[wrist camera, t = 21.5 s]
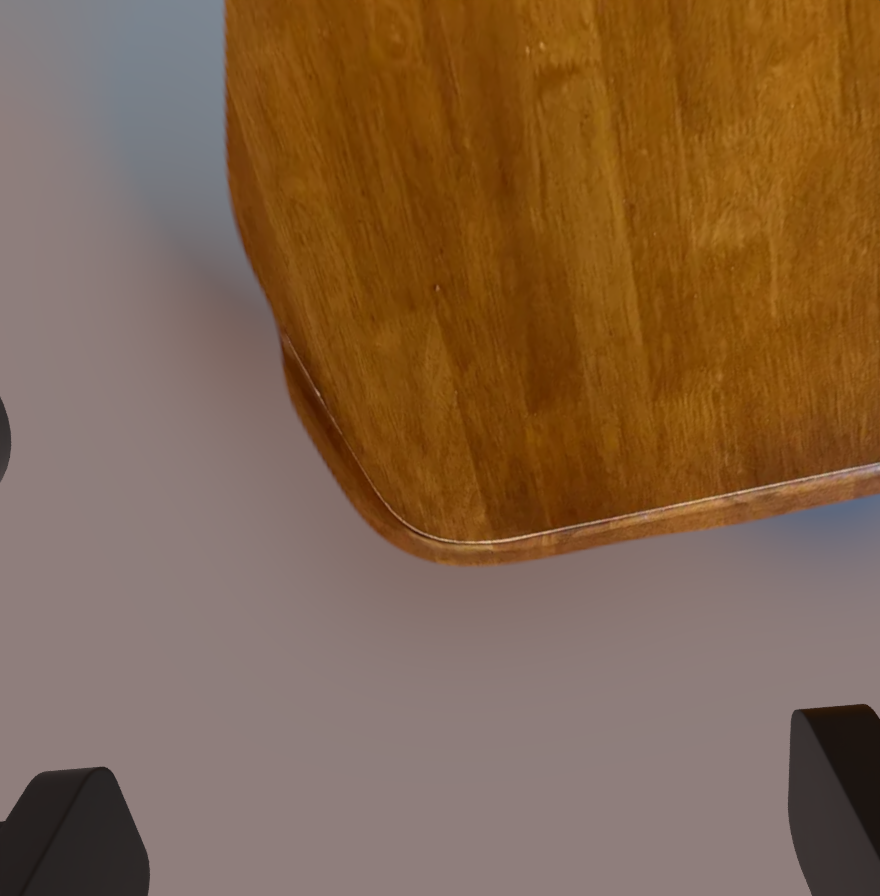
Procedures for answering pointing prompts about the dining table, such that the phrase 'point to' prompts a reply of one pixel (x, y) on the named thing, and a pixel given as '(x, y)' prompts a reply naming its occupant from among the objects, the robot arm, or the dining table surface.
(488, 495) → the dining table surface
